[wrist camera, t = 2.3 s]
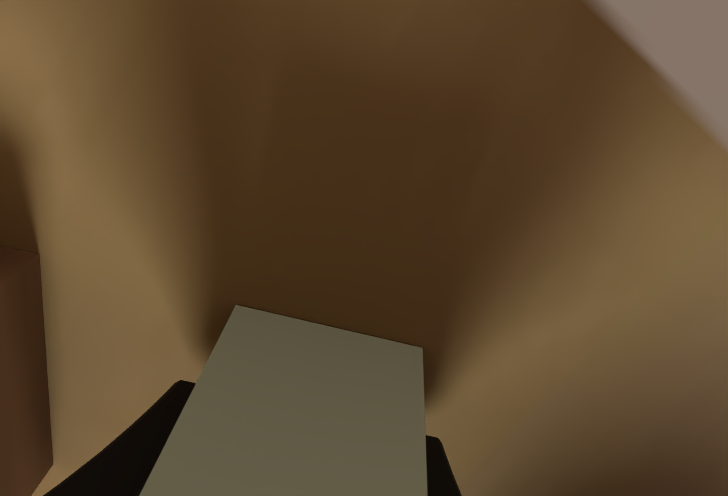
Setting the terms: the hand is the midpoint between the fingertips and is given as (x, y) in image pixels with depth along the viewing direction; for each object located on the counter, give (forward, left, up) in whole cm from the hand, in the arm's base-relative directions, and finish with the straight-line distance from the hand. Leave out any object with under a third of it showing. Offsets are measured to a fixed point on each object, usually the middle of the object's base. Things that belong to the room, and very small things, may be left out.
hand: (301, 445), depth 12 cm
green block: (0, 0, -1) cm, 1 cm away
